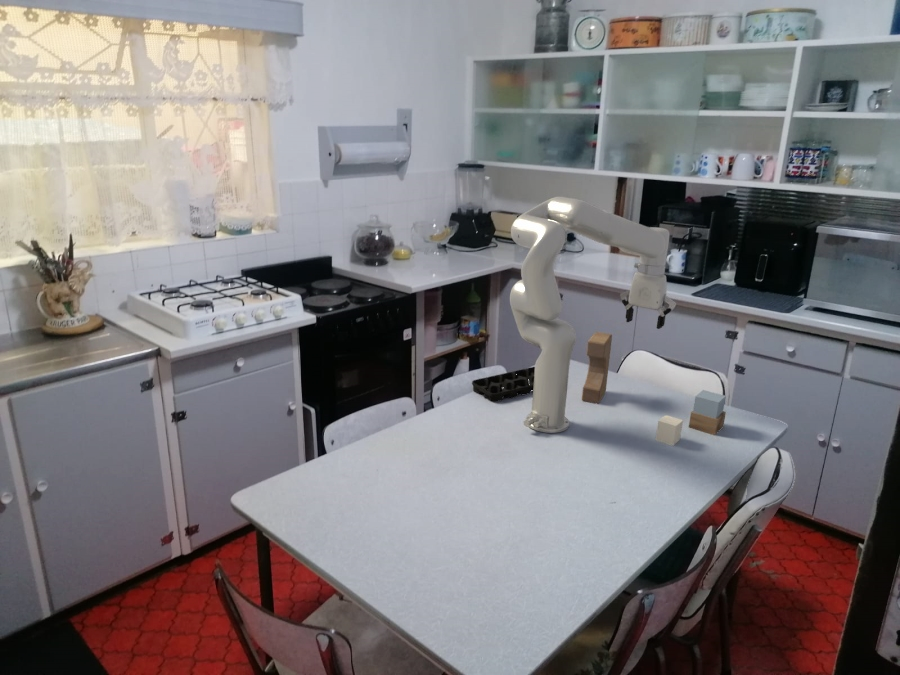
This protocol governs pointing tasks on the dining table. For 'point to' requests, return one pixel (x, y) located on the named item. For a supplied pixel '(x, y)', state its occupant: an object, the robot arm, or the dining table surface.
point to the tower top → (709, 404)
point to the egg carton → (505, 384)
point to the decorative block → (597, 367)
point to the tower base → (707, 423)
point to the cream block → (669, 430)
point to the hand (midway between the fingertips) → (644, 324)
